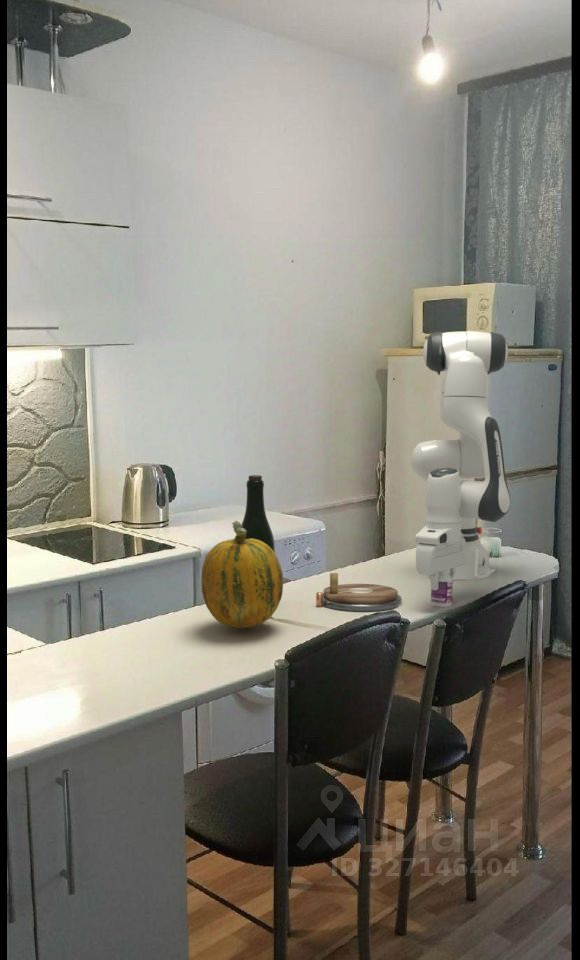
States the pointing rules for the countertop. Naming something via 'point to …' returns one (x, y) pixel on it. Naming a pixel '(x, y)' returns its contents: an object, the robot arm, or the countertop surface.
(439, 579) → the pill bottle
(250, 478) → the wine bottle
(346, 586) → the turntable
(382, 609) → the turntable base
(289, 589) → the countertop surface
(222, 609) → the pumpkin
